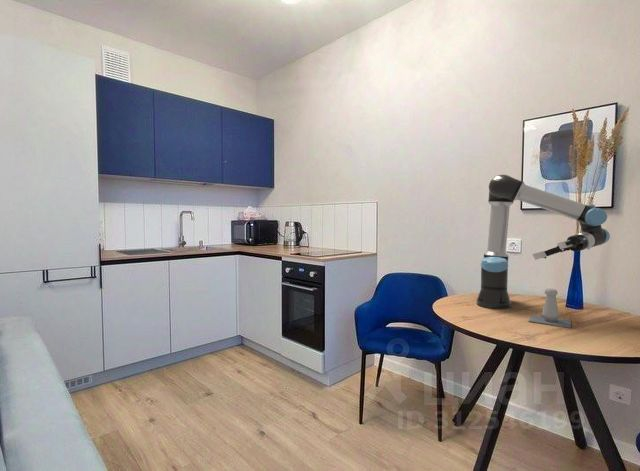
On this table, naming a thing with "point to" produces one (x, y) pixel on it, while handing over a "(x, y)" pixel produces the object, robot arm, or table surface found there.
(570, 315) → the table surface
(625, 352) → the table surface
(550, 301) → the salt shaker
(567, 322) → the mat
